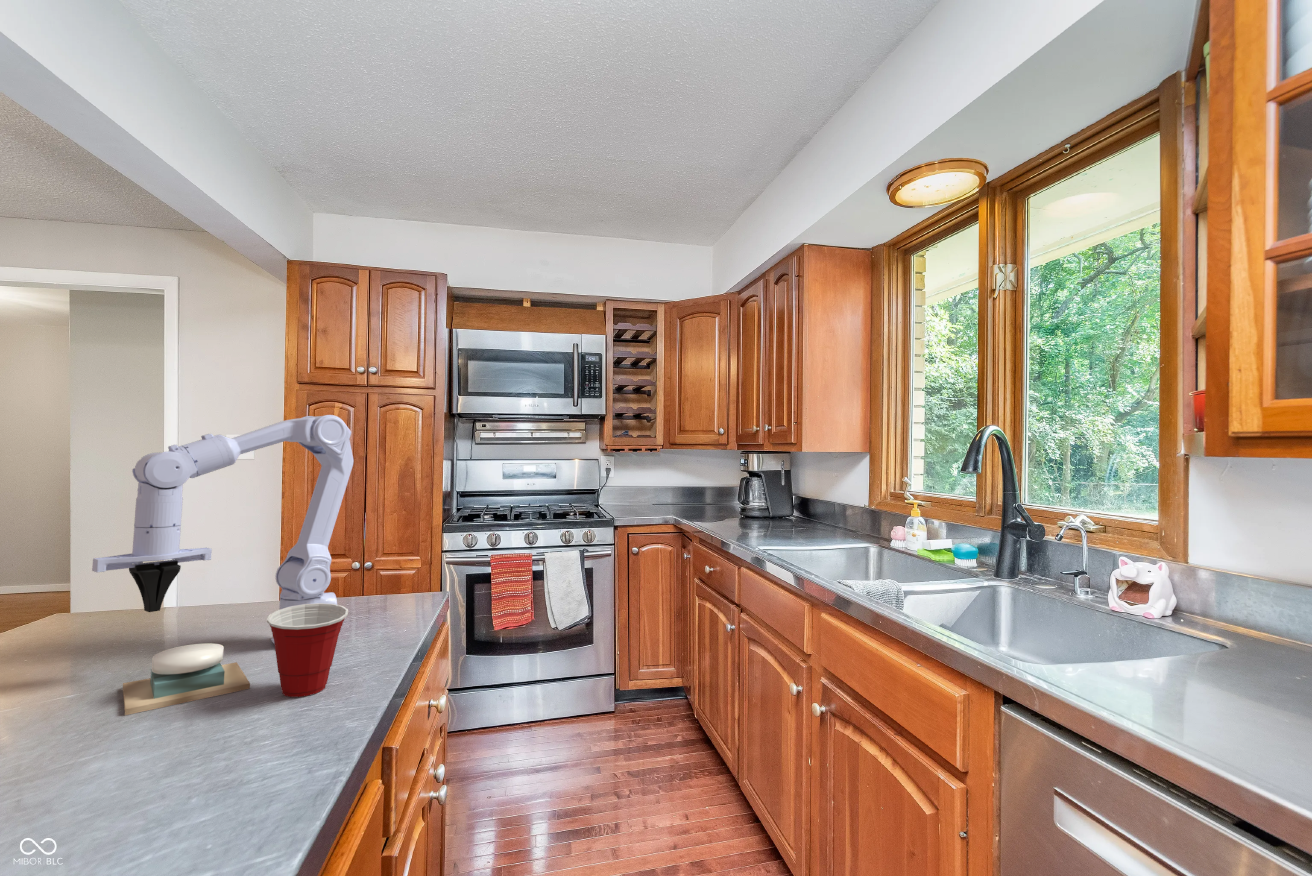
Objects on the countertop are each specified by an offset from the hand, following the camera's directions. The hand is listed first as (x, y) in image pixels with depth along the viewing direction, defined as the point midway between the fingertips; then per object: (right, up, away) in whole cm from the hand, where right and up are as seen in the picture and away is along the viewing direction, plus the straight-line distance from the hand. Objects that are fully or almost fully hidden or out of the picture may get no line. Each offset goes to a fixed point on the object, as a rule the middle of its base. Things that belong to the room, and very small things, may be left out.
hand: (152, 610), depth 91 cm
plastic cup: (+27, -11, -4) cm, 30 cm away
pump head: (+10, -9, -5) cm, 14 cm away
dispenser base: (+10, -11, -5) cm, 15 cm away
